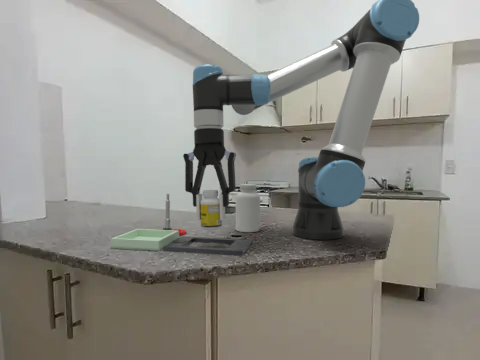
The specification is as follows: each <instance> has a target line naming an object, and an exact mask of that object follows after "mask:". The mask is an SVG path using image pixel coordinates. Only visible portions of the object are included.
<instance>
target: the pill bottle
mask: <svg viewBox="0 0 480 360" xmlns="http://www.w3.org/2000/svg"><path fill="white" fill-rule="evenodd" d="M239 191H240V192H238V193H236V196H235V230H236V231H237V232H240V233H255V232H256V233H257V232H259V231H260V229H261V195H260V194H259V193H258V192H257V184H254V183H241V184H239Z"/></svg>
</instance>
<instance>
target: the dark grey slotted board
mask: <svg viewBox="0 0 480 360" xmlns="http://www.w3.org/2000/svg"><path fill="white" fill-rule="evenodd" d="M193 242H194V243H209V242H213V244H230V245H229V247H227V248H226V247H225V248H224V247H223V248H222V247H203V246H189V245H191V244H192V243H193ZM190 243H191V244H190ZM187 245H188V246H187ZM250 245H252V239H246V238H243V239H242V238H225V237H224V238H223V237H207V236H206V237H205V236H204V237H201V236H184V235H180V236H179V238H178V239H176V240H174V241H173V242H171V243H169V244H167V245H166V246H164V247H163V249H162V250H163V252H175V251H187V252H186V253H193V252H202V253H201V254H210V253H215V254H214V255H230V256H231V255H232V256H243V255H245V253H246V251H247V250H248V249H249V247H250Z"/></svg>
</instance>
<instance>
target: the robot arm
mask: <svg viewBox="0 0 480 360" xmlns="http://www.w3.org/2000/svg"><path fill="white" fill-rule="evenodd" d="M419 25H420V13H419V9H418V8H417V7H416V6H415V3H414V2H413V1H412V0H377V1H375V2H374V3H373V4H372V5H371V7H370V9H369V10H367V12H366V13H365V14H364V15H363V16H362V17H360V19H359V20H358V21H357V22H356V24H354V25H353V27H351V28H350V29H348V31H346V32H345V33H344V34H343V35H341V36H339V37H337V38H335V39H333V40H332V42H331V43H330V45H329V46H327V47H325V48H322V49H320V50H318V51H315V52H313V53H312V54H310V55H307V56H305V57H303V58H301V59H299V60H296V61H295V62H292V63H290V64H288V65H286V66H283V67H281V68H280V69H277V70H275V71H273V72H271V73H267V74H257V73H254V74H224V73H223V68H222V67H220V65H217V64H211V63H210V64H209V63H206V64H201V65H197V66H195V67H194V68H193V72H192V99H193V101H192V102H193V104H192V105H193V127H194V128H195V129H194V130H193V131H194V133H193V138H194V140H193V141H194V143H193V144H194V148H193V150H192V151H191V152H188V153H184V154H183V155H182V157H183V161H184V163H185V164H184V166H185V169H184V170H185V171H184V173H185V176H184V178H185V180H184V181H185V182H184V183H185V184H184V185H185V186H184V187H185V188H184V189H185V192H186V193H190V194H192V206H193V207H196V221H201V209H200V201H201V200H202V199H203V193H201V187H202V183H203V179H204V175H205V170H206V168H207V166H213V168H214V169H215V173H216V177H217V181H218V182H219V187H220V190H221V194H218V196H219V197H218V198H219V204H220V220H222V221H224V220H226V208H228V207H229V205H230V204H229V203H230V202H229V201H230V199H229V197H230V196H229V195H230V193H232V192H235V191H236V188H237V187H236V171H235V170H236V169H235V161H236V157H237V154H236V152H232V151H228V150H227V149H226V147H225V130H224V129H222V128H224V123H225V122H224V106H231V107H232V109H233V111H234V112H235V113H236V114H238V115H240V116H246V115H250V114H251V113H252V112H254V111H255V110H256V109H258V108H259V109H260V108H261V107H263V106H267V105H268V104H269V103H271V102H273V101H276V100H277V99H280V98H282V97H284V96H287V95H289V94H291V93H293V92H295V91H297V90H299V89H302V88H304V87H306V86H308V85H310V84H313V83H315V82H318V80H321V79H323V78H326V77H328V76H330V75H332V74H334V73H336V72H339V71H340V72H347V71H349V70H351V69H352V72H351V74H350V77H349V80H348V84H347V87H346V89H345V94H344V97H343V98H342V102H341V105H340V109H339V111H338V113H337V118H336V120H335V123H334V126H333V130H332V133H331V137H330V139H329V142H328V144H327V145H326V146H324V147H322V148H321V149H320V151H319V153H318V156H313V157H306V158H303V159H301V160H300V161H299V162H298V168H297V172H298V208H297V212H296V216H295V217H294V218H295V219H294V221H293V224H292V235H294V236H296V237H298V238H303V239H309V240H310V239H311V240H321V241H322V240H325V241H326V240H337V239H342V238H343V237H344V227H343V223H342V220H341V217H340V213H339V208H344V207H345V208H346V207H348V206H350V205H353V204H354V203H356V202H357V201H358V200H359V199H360V198H361V197H362V195H363V193H364V190H365V188H366V176H365V175H364V172H363V171H364V167H365V165H366V159H365V158H364V155H363V150H364V148H365V144H366V142H367V140H368V139H367V138H368V135H369V132H370V129H371V126H372V122H373V120H374V117H375V114H376V111H377V107H378V105H379V102H380V99H381V95H382V92H383V90H384V87H385V83H386V80H387V78H388V74H389V71H390V68H391V66H392V65H393V64H395V63H397V62H398V61H399V60H400V58H401V55H402V53H403V51H404V50H403V49H404V46H405V43H406V41H407V39H409V38H411V37H412V36H413V34H414V33H415V32H416V31H417V29H418V27H419ZM224 156H225V159H226V160H227V176H228V177H227V178H228V181H227V180H226V177H225V173H224V169H223V165H222V160H223V158H224ZM194 158H195V159H196V160H197V161H198V162H197V166H196V167H197V170H196V174H195V178H194V160H195V159H194ZM227 182H228V183H227Z"/></svg>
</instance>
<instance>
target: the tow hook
mask: <svg viewBox="0 0 480 360" xmlns="http://www.w3.org/2000/svg"><path fill="white" fill-rule="evenodd" d="M170 204H171V200H170V193H166V200H165V219H164V227H163V229H162V230H177V231H179V236H184V235H186V234H187V230H186V229H183V228H172V227H171V218H170V214H171V213H170V209H171V205H170Z"/></svg>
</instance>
